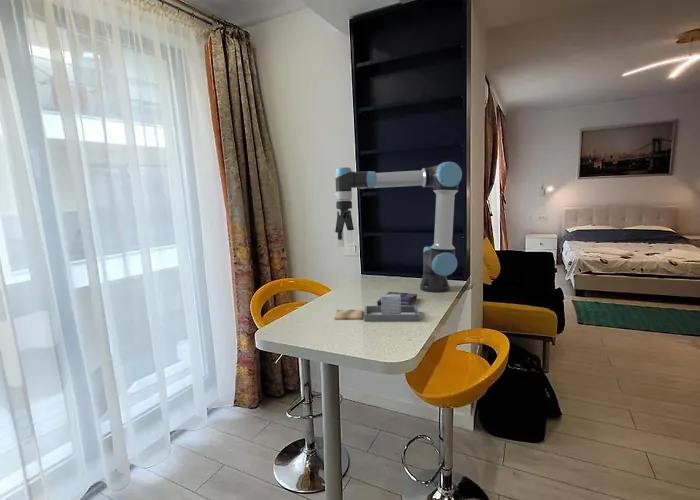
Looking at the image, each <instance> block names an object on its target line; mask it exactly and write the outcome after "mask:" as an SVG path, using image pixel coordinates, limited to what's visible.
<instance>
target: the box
mask: <svg viewBox="0 0 700 500" xmlns="http://www.w3.org/2000/svg"><path fill="white" fill-rule="evenodd" d="M385 295H400V296H401V306H413V304H414V303H415V302H416V301H417V300H418V294H417V293H408V292H397V291H395V292H394V291H389V292H387V293H385ZM376 304H377V305H376V306H381V298H379V299H378V300H377V301H376Z"/></svg>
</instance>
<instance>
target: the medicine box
mask: <svg viewBox="0 0 700 500" xmlns="http://www.w3.org/2000/svg"><path fill="white" fill-rule="evenodd" d="M380 299H381V311H382V312H381V314H402V312H401V296H400V295H386V294H381V296H380Z"/></svg>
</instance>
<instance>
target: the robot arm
mask: <svg viewBox="0 0 700 500" xmlns="http://www.w3.org/2000/svg"><path fill="white" fill-rule="evenodd" d="M462 177H463V171H462V168H461V167H460V166H459V164H458V163H456V162H453V161H445V162H444V161H443V162H441V163H440V164H438V165H437V164H436V165H434V166H429V167H422V169H421V170H407V171H405V170H403V171H391V172H389V171H386V172H376V171H374V170H373V171H370V170H368V171H352V168H351V167H346V166H345V167H344V166H343V167H337V168H336V169H335V177H334V179H335V200H336V204H335V206H336V207H335V208H336V209H337V213H336V216H337V217H336V223H335V230H334V232H335V233H336V234H337V237H336V238H337V247H344V246H345V245H344V244H345V241H344V240H345V239H344V238H345V237H344V227H346V244H353V231H354V230H355V227H354V223H353V217H352V210H350V209H353V202H352V199H353V192H352V189H355V188H356V189H357V188H358V189H360V190H366V189H378V188H379V189H380V188H396V187H400V188H401V187H414V186H415V187H417V186H418V187H419V186H422V187H423V188H432V191H433V192H434V193H435V211H434V212H435V213H434V236H433V238H434V239H433V244H432V245H431V246H425V247H423V252H422V254H423V255H422V256H423V257H422V258H423V259H422V260H423V272H422V273H423V275H422V278H421V282H420V284H419V289H420V290H421V291H424V292H429V293H430V292H431V293H442V292H443V293H444V292H447V290H448V291H449V290H450V285H449V284H450V283H449V281H448V278H447V276H450V275H452V274H453V273H454V272H456V269H457V268H458V260H457V257H456V247H455V246H454V245H453V233H454V230H453V229H454V215H455V198H456V197H455V195H456V194H457V193H458V192H459V184H460V182H461V181H462V179H463V178H462Z"/></svg>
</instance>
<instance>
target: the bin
mask: <svg viewBox="0 0 700 500" xmlns="http://www.w3.org/2000/svg"><path fill="white" fill-rule="evenodd" d="M364 306H365V307H364V314H363V315H364V317H363V318H364V319H363V320H364V322H420V313H419V310H418V307H417V305H411V306H401V314H382V311H381V306H377V305H364ZM371 313H372V314H371ZM373 313H375V314H373ZM376 313H378V314H376ZM402 313H403V314H402ZM405 313H406V314H405ZM410 313H411V314H410Z"/></svg>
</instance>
